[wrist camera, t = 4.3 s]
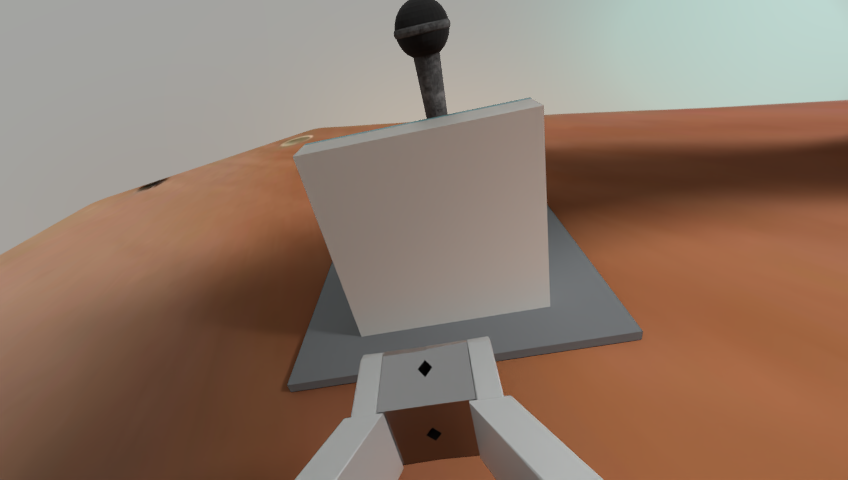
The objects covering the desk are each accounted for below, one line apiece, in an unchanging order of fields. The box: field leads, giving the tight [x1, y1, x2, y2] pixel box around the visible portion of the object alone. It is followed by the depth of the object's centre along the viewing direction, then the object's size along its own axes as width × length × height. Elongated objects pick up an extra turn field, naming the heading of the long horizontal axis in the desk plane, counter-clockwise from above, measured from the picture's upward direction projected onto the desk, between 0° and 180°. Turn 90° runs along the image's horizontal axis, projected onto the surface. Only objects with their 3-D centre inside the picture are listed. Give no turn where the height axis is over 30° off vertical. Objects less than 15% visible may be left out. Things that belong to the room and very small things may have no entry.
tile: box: [293, 98, 550, 337], centre depth 21 cm, size 2×12×12 cm, turn 92°
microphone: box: [394, 0, 450, 119], centre depth 47 cm, size 7×7×20 cm
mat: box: [287, 205, 643, 392], centre depth 28 cm, size 18×20×1 cm
